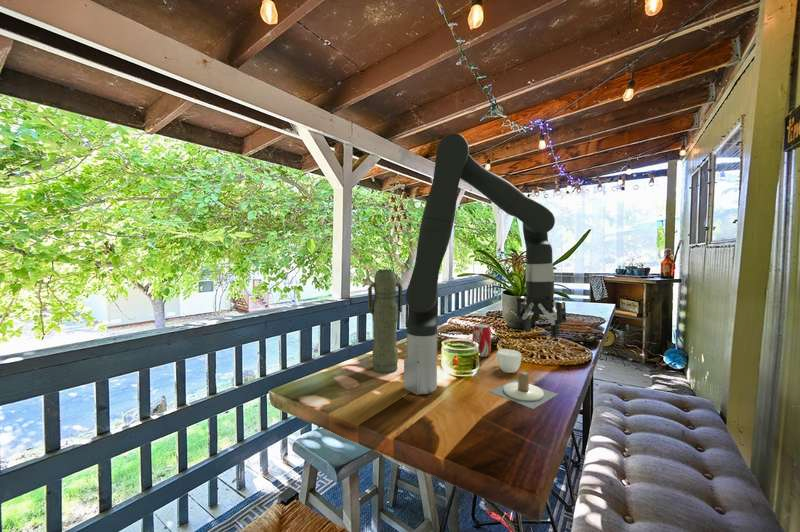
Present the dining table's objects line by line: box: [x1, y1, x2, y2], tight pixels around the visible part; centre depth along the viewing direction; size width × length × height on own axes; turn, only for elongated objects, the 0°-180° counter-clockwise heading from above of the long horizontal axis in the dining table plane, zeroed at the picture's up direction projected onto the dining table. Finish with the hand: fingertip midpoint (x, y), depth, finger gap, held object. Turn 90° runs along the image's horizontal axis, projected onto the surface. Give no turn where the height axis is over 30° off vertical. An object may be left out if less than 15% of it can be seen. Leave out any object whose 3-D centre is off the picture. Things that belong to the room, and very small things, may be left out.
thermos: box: [367, 269, 403, 374], centre depth 118 cm, size 9×12×35 cm
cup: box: [495, 348, 522, 374], centre depth 117 cm, size 8×10×7 cm
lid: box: [504, 370, 544, 401], centre depth 98 cm, size 11×11×6 cm
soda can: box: [472, 323, 492, 358], centre depth 134 cm, size 7×7×12 cm
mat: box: [488, 379, 559, 410], centre depth 98 cm, size 14×14×1 cm
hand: (540, 334), depth 98 cm, fingers open, 8 cm apart
